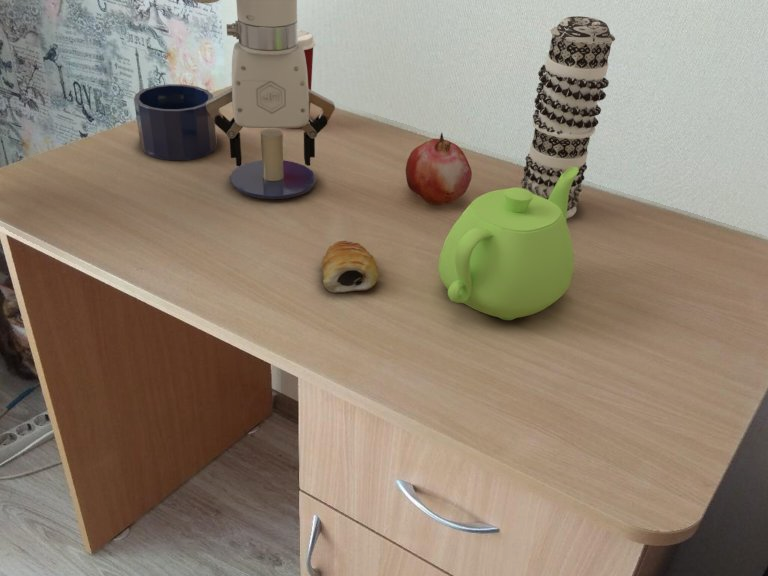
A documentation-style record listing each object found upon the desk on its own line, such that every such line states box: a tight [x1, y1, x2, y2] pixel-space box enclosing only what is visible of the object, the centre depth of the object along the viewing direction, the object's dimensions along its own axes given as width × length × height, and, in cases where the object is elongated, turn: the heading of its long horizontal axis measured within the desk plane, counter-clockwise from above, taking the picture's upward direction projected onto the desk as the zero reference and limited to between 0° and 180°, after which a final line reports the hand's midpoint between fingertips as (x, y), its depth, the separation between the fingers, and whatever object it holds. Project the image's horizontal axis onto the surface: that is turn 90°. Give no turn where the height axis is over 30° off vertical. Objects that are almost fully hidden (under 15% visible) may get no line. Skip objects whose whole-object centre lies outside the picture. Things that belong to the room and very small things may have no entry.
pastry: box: [320, 240, 380, 294], centre depth 93 cm, size 9×7×4 cm
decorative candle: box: [520, 15, 616, 219], centre depth 105 cm, size 9×9×25 cm
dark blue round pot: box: [133, 83, 218, 162], centre depth 119 cm, size 11×11×8 cm
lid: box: [229, 128, 317, 200], centre depth 110 cm, size 12×12×8 cm
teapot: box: [437, 167, 579, 321], centre depth 90 cm, size 22×15×13 cm
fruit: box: [405, 132, 473, 206], centre depth 109 cm, size 9×10×10 cm
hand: (273, 162), depth 111 cm, fingers open, 9 cm apart
